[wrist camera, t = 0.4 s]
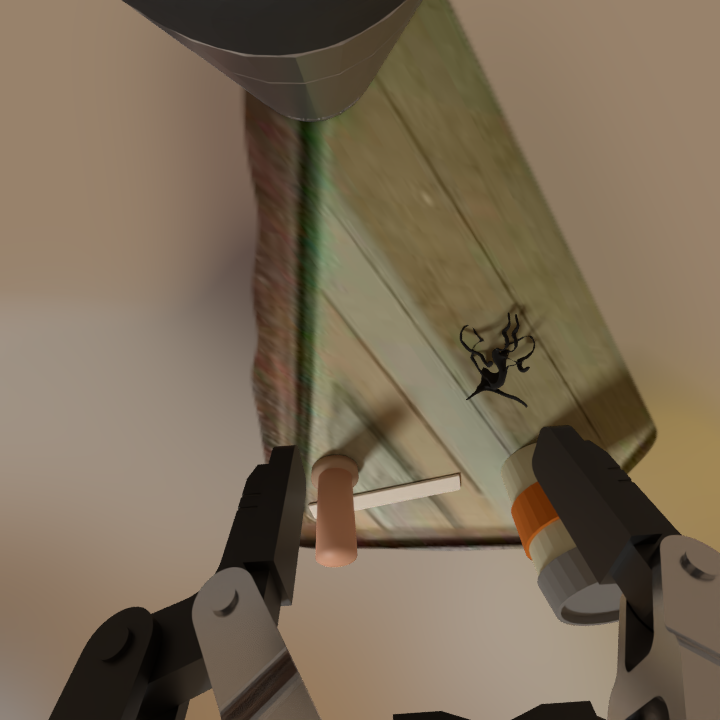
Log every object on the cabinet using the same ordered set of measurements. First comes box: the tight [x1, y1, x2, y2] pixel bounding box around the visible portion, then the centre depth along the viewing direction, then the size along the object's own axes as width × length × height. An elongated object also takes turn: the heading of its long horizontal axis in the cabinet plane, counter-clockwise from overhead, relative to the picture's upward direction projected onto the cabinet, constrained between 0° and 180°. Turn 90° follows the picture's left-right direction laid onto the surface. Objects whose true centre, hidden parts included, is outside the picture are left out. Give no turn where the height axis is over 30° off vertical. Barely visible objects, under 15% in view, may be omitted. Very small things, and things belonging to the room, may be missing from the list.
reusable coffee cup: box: [501, 443, 622, 626], centre depth 36 cm, size 13×12×15 cm
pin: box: [311, 455, 359, 567], centre depth 35 cm, size 6×6×10 cm
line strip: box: [308, 474, 460, 519], centre depth 43 cm, size 3×20×1 cm, turn 102°
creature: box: [460, 313, 535, 408], centre depth 29 cm, size 8×5×8 cm
